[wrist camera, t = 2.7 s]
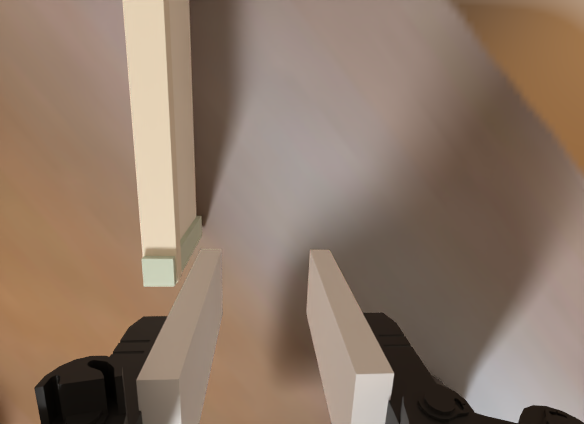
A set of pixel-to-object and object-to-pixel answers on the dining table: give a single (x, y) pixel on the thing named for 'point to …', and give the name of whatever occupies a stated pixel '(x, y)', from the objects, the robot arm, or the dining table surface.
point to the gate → (163, 135)
